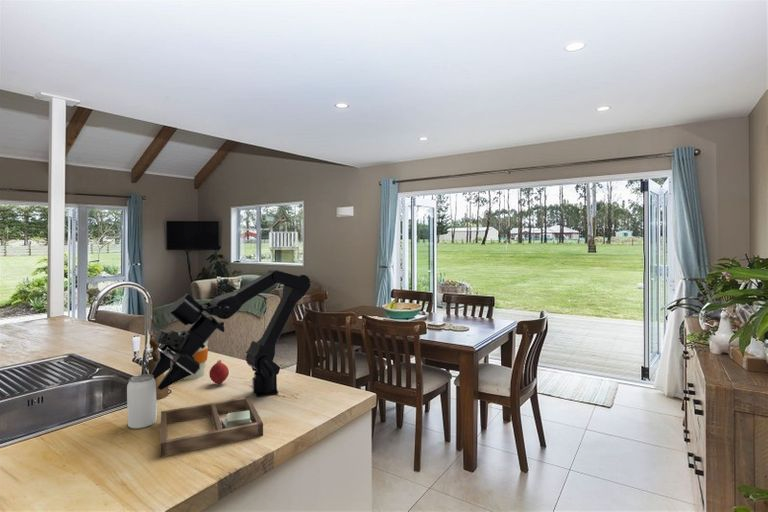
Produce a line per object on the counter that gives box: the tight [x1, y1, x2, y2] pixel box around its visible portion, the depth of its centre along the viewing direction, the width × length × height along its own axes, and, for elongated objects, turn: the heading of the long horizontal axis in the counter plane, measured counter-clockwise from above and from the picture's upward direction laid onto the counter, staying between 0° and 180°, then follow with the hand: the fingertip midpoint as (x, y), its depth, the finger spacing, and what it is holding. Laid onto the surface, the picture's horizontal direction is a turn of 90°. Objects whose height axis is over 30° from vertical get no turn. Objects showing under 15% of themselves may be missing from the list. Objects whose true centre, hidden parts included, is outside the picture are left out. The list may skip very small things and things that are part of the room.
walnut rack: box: [159, 396, 264, 458], centre depth 106 cm, size 22×19×3 cm
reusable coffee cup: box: [174, 328, 210, 381], centre depth 146 cm, size 13×13×15 cm
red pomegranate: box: [208, 359, 229, 385], centre depth 137 cm, size 6×6×8 cm
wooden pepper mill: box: [147, 336, 169, 400], centre depth 127 cm, size 7×6×18 cm
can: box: [126, 373, 158, 430], centre depth 108 cm, size 6×6×12 cm
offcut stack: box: [220, 410, 252, 429], centre depth 104 cm, size 7×6×4 cm
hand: (154, 384), depth 110 cm, fingers open, 9 cm apart
